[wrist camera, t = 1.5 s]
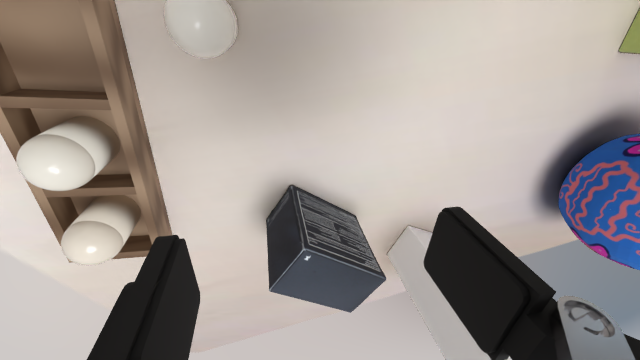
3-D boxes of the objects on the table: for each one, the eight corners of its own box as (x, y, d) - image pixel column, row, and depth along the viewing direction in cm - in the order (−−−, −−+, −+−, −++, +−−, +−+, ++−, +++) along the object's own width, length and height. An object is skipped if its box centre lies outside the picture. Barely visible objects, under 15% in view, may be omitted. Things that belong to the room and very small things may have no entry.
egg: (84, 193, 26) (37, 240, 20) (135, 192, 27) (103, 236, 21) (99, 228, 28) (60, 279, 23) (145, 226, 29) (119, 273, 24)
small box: (262, 222, 33) (264, 294, 24) (290, 182, 31) (303, 246, 22) (329, 248, 38) (351, 317, 29) (357, 215, 36) (390, 278, 27)
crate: (-40, -37, 18) (-96, -48, 15) (109, -19, 19) (84, -26, 17) (87, 239, 29) (69, 262, 27) (172, 234, 31) (163, 255, 29)
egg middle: (52, 115, 22) (-17, 146, 17) (112, 116, 23) (65, 146, 18) (71, 162, 24) (16, 203, 19) (126, 162, 25) (88, 201, 20)
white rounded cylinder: (176, -13, 20) (146, -27, 15) (236, -6, 21) (228, -16, 16) (185, 50, 23) (162, 60, 17) (239, 54, 23) (234, 64, 18)
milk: (386, 253, 41) (491, 448, 22) (408, 224, 38) (546, 413, 20) (415, 260, 43) (534, 442, 24) (438, 233, 41) (588, 410, 22)
